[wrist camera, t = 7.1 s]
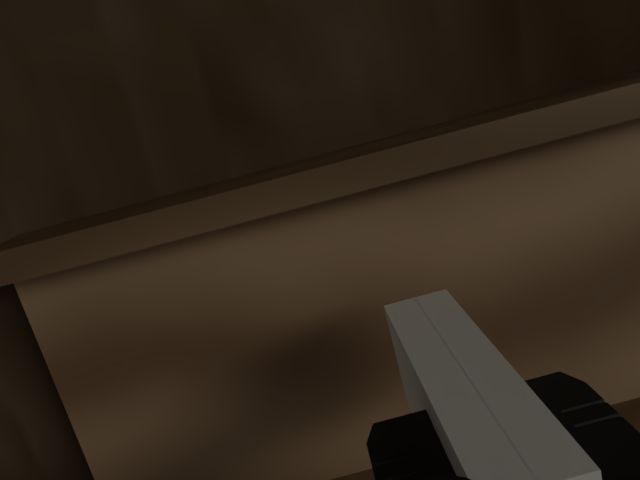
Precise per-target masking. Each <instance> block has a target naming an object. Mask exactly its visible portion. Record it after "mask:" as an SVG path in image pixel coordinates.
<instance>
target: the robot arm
mask: <svg viewBox="0 0 640 480" xmlns="http://www.w3.org/2000/svg"><path fill="white" fill-rule="evenodd" d="M384 309H385V313H386V318H387V322H388V326H389V330H390V334H391V338H392V342H393V346H394V350H395V354H396V358H397V363H398V367H399V371H400V375H401V379H402V383H403V387H404V391H405V395H406V399H407V403H408V407H409V410H410V412H411V413H410V414H406V415H403V416H399V417H395V418H391V419H388V420H384V421H380V422H377V423H373V425H372V428H371V431H370V434H369V437H368V440H367V443H366V444H367V448H368V453H369V457H370V461H371V465H372V469H373V473H374V477H375V480H640V433H639V432H638V431H637V430H636V429H635V428H634V427H633V426H632V425H631V424H630V423H629V422H628V421H627V420H626V419H624V418H623V417H620V416H619V413H618V412H617V411H616V410H615V409H614V408H613V407H612V406H611V405H610V404H608V403H607V402H606V403H605V402H604V399H603V398H602V397H601V396H600V395H599V394H598V393H597V392H596V391H595V390H594V389H592V388H591V387H590V386H589V385H588V384H587V383H586V382H584V381H582V380H579V379H577V378H574V377H572V376H570V375H567V374H565V373H563V372H560V371H559V372H555V373H552V374H548V375H544V376H541V377H537V378H533V379H529V380H526V381H524V380H523V379H522V378H521V376H520V375H519V374H518V373H517V372H516V371H515V369H514V368H513V367H512V366H511V365H510V364H509V362H508V361H507V360H506V359H505V358H504V357H503V355H502V354H501V353H500V352H499V351H498V350H497V348H496V347H495V346H494V345H493V344H492V343H491V341H490V340H489V339H488V338H487V337H486V335H485V334H484V333H483V332H482V331H481V330H480V328H479V327H478V326H477V325H476V324H475V323H474V321H473V320H472V319H471V318H470V317H469V316H468V314H467V313H466V312H465V311H464V310H463V309H462V307H461V306H460V305H459V304H458V303H457V302H456V300H455V299H454V298H453V297H452V296H451V295H450V293H449V292H448V291H447V290H446V289H444V290H441V291H437V292H433V293H429V294H426V295H422V296H418V297H414V298H411V299H407V300H403V301H399V302H396V303H392V304H388V305H385V306H384Z"/></svg>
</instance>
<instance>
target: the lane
mask: <svg viewBox="0 0 640 480" xmlns="http://www.w3.org/2000/svg"><path fill="white" fill-rule="evenodd" d="M12 283H13V284H14V286H15V289H16V291H17V294H18V296H19V298H20V301H21V303H22V306H23V308H24V311H25V313H26V315H27V318H28V320H29V323H30V325H31V327H32V330H33V332H34V335H35V337H36V340H37V342H38V344H39V347H40V349H41V352H42V354H43V356H44V359H45V361H46V364H47V366H48V369H49V371H50V373H51V376H52V378H53V381H54V383H55V385H56V388H57V390H58V393H59V395H60V398H61V400H62V402H63V405H64V407H65V410H66V412H67V414H68V417H69V419H70V422H71V424H72V427H73V429H74V431H75V434H76V436H77V439H78V441H79V443H80V446H81V448H82V451H83V453H84V456H85V458H86V460H87V463H88V465H89V468H90V470H91V472H92V475H93V477H94V480H375V477H374V473H373V469H372V465H371V461H370V457H369V453H368V448H367V444H366V443H367V440H368V437H369V434H370V431H371V428H372V425H373V423H377V422H380V421H384V420H388V419H391V418H395V417H399V416H403V415H406V414H410V413H411V412H410V410H409V407H408V403H407V399H406V395H405V391H404V387H403V383H402V379H401V375H400V371H399V367H398V363H397V358H396V354H395V350H394V346H393V342H392V338H391V334H390V330H389V326H388V322H387V318H386V313H385V309H384V306H385V305H388V304H392V303H396V302H399V301H403V300H407V299H411V298H414V297H418V296H422V295H426V294H429V293H433V292H437V291H441V290H444V289H446V290H447V291H448V292H449V293H450V295H451V296H452V297H453V298H454V299H455V300H456V302H457V303H458V304H459V305H460V306H461V307H462V309H463V310H464V311H465V312H466V313H467V314H468V316H469V317H470V318H471V319H472V320H473V321H474V323H475V324H476V325H477V326H478V327H479V328H480V330H481V331H482V332H483V333H484V334H485V335H486V337H487V338H488V339H489V340H490V341H491V343H492V344H493V345H494V346H495V347H496V348H497V350H498V351H499V352H500V353H501V354H502V355H503V357H504V358H505V359H506V360H507V361H508V362H509V364H510V365H511V366H512V367H513V368H514V369H515V371H516V372H517V373H518V374H519V375H520V376H521V378H522V379H523V380H524V381H526V380H529V379H533V378H537V377H541V376H544V375H548V374H552V373H555V372H559V371H560V372H563V373H565V374H567V375H570V376H572V377H574V378H577V379H579V380H582V381H584V382H586V383H587V384H588V385H589V386H590V387H591V388H592V389H594V390H595V391H596V392H597V393H598V394H599V395H600V396H601V397H602V398H603V399H604V402H605V403H606V402H607V403H608V404H610V405H611V406H612V407H613V408H614V409H615V410H616V411H617V412H618V413H619V416H620V417H623V418H624V419H626V420H627V421H628V422H629V423H630V424H631V425H632V426H633V427H634V428H635V429H636V430H637V431H638V432H639V433H640V71H637V72H633V73H629V74H626V75H622V76H618V77H614V78H610V79H607V80H603V81H599V82H595V83H592V84H588V85H584V86H580V87H576V88H573V89H569V90H565V91H561V92H557V93H554V94H550V95H546V96H542V97H539V98H535V99H531V100H527V101H523V102H520V103H516V104H512V105H508V106H505V107H501V108H497V109H493V110H489V111H486V112H482V113H478V114H474V115H470V116H467V117H463V118H459V119H455V120H452V121H448V122H444V123H440V124H436V125H433V126H429V127H425V128H421V129H417V130H414V131H410V132H406V133H402V134H399V135H395V136H391V137H387V138H383V139H380V140H376V141H372V142H368V143H365V144H361V145H357V146H353V147H349V148H346V149H342V150H338V151H334V152H330V153H327V154H323V155H319V156H315V157H312V158H308V159H304V160H300V161H296V162H293V163H289V164H285V165H281V166H278V167H274V168H270V169H266V170H262V171H259V172H255V173H251V174H247V175H243V176H240V177H236V178H232V179H228V180H225V181H221V182H217V183H213V184H209V185H206V186H202V187H198V188H194V189H190V190H187V191H183V192H179V193H175V194H172V195H168V196H164V197H160V198H156V199H153V200H149V201H145V202H141V203H138V204H134V205H130V206H126V207H122V208H119V209H115V210H111V211H107V212H103V213H100V214H96V215H92V216H88V217H85V218H81V219H77V220H73V221H69V222H66V223H62V224H58V225H54V226H50V227H47V228H43V229H39V230H35V231H32V232H28V233H24V234H20V235H18V236H16V237H14V238H12V239H10V240H7V241H5V242H3V243H1V244H0V287H1V286H5V285H9V284H12Z"/></svg>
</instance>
